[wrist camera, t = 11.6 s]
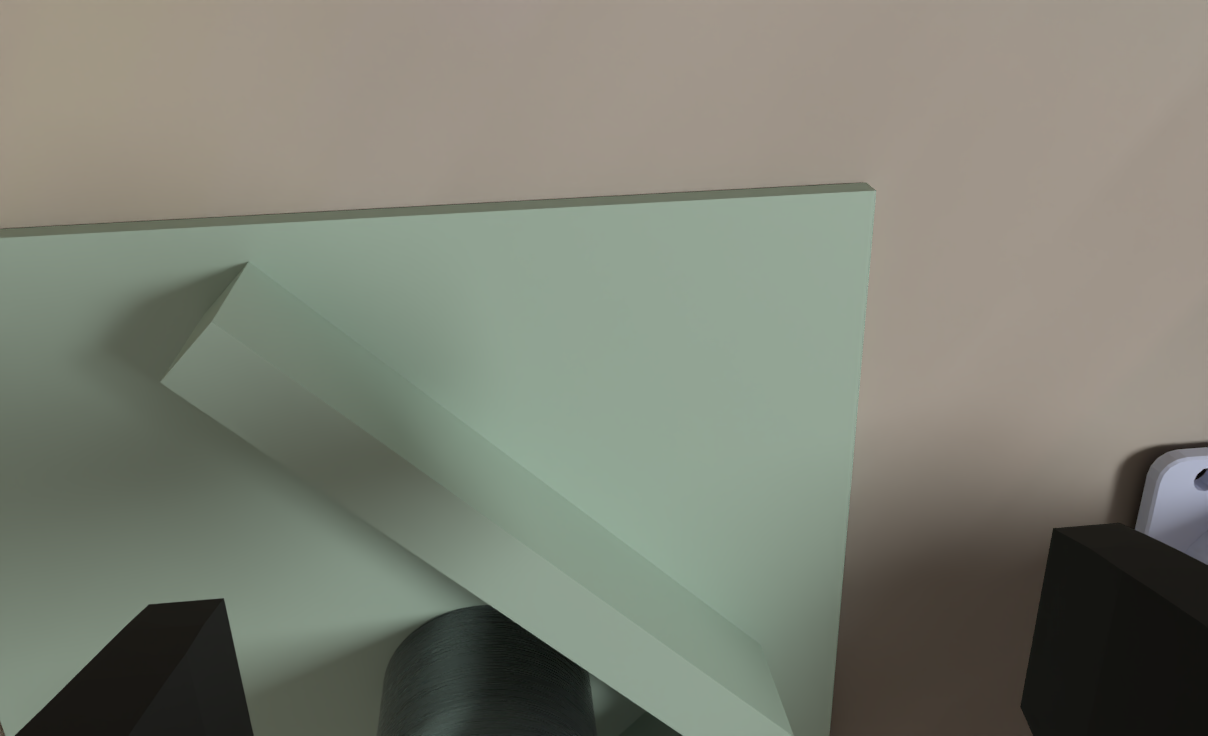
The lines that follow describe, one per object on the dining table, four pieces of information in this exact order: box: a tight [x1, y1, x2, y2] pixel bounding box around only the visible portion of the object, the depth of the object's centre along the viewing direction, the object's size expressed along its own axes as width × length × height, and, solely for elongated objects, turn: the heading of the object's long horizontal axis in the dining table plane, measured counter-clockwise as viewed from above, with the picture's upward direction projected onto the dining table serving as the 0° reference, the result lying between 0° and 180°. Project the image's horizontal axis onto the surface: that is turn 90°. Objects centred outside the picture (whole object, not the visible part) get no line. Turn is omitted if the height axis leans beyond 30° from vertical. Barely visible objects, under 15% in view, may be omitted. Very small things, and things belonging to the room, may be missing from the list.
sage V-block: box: [0, 183, 876, 736], centre depth 19 cm, size 16×19×3 cm
